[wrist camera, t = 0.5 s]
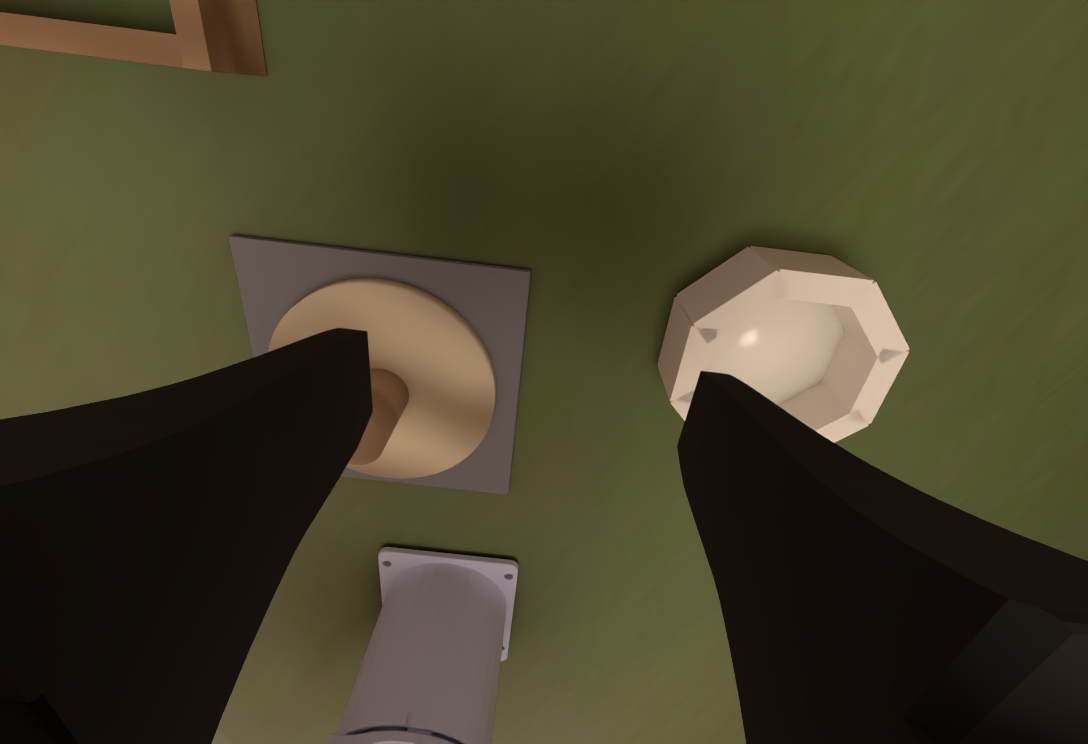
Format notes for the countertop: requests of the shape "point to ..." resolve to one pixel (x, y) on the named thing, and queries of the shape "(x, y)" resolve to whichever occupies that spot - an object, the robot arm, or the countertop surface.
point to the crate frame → (156, 37)
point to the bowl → (787, 337)
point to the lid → (406, 373)
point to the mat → (469, 288)
